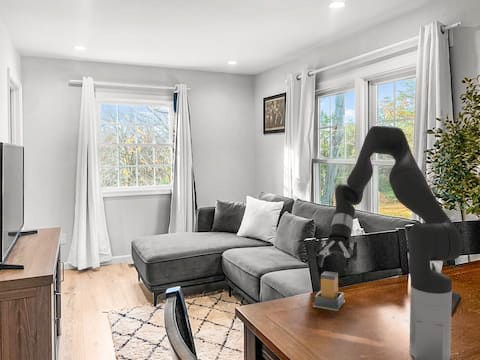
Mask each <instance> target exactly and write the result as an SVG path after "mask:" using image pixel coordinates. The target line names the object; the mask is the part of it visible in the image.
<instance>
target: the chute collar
mask: <svg viewBox="0 0 480 360" xmlns="http://www.w3.org/2000/svg"><path fill="white" fill-rule="evenodd" d="M344 300H345V292H342V291H341V292H340V291H338V298H337V299H332V298H325V297H321V289H320V290H319V291H318V292H317V294H316V295H315V296H314V305H315V306H321V307H327V308H332V309H339V310H340V308H341V307H342V306H343V304H344V303H345V302H344ZM343 302H344V303H343ZM342 303H343V304H342ZM341 305H342V306H341ZM340 306H341V307H340ZM339 307H340V308H339Z"/></svg>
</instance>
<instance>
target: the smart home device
mask: <svg viewBox="0 0 480 360" xmlns="http://www.w3.org/2000/svg"><path fill="white" fill-rule="evenodd" d="M460 301H461V293H457V292H452V302H451V316H453V313H454V311H455V309H456V307H457V305H458V304H459V302H460Z"/></svg>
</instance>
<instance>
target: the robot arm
mask: <svg viewBox="0 0 480 360" xmlns="http://www.w3.org/2000/svg"><path fill="white" fill-rule="evenodd" d="M374 154H378V155H388V156H391V157H392V158H393V159H394V161H395V162H394V164H393V166H392V168H391V170H390V172H389V176H388V181H389V182H388V183H389V185H390V188H391V190H392V192H393V194H394V197H395V198H396V200H397V201H398V203H400V204H401V205H402V206H404V207H405V208H406V209H407V210H409V211H411V212H412V213H413V214H415V215H417V216H418V217H419V218H420V219H422V221H424V222H422V223H421V222H420V223H413V224H412V225H411V227H410V229H409V230H408V231H409V232H408V240H407V241H408V258H409V259H408V261H409V262H408V263H409V265H408V269H409V277H410V300H409V301H410V303H409V305H410V306H409V307H410V308H409V311H410V312H409V353H410V355H411V356H412V357H413V358H414V360H451V347H452V345H451V341H452V338H451V337H452V335H451V334H452V315H451V302H452V293H453V292H452V291H453V281H452V279H451V277H449V276H448V275H447V274H444V273H442V272H441V273H439V272H436V271H433V270H431V267H430V261H444V262H447V261H453V260H457V259H459V257H460V256H461V255H462V251H463V243H462V239H461V236H460V233H459V231H458V230H457V228H456V226H455V224H454V223H453V222H452V219H450V217H449V216H448V214H447V213H446V211H445V210H444V208H443V207H442V206H441V205H440V203H439V201H438V199H437V198H436V196H435V194H434V193H433V191H432V190H431V186H430V185H429V184H428V181H427V179H426V177H425V175H424V173H423V172H422V170H421V169H420V167H419V164H418V163H417V161H416V159H415V157H414V154H413V153H412V150H411V147H410V145H409V143H408V139H407V136H406V135H405V132H404V131H403V129H402V128H400V127H398V126H392V125H384V124H374V125H372V126H371V127H370V128H369V130H368V131H367V133H366V136H365V138H364V140H363V144H362V146H361V148H360V151H359V154H358V157H357V161H356V163H355V165H354V167H353V169H352V170H351V172H350V174H349V175H348V177H347V179H346V182H340V183H338V185H337V186H336V188H335V190H334V199H335V211H334V215H333V219H332V221H331V225H330V230H329V234H328V238H327V240H323V239H322V238H318V241H317V243H316V246H315V249H314V252H315V255H316V257H318V260H317V265H318V266H319V268H323V266H324V262H325V261H324V260H325V258H326V257H327V256H329V255H331V254H332V255H333V254H334V255H335V254H336V255H337V254H338V255H342V254H343V256H344V257H345V260H344V265H343V270H344V271H348V270H349V269H350V266H351V262H352V261H355V262H356V261H357V260H358V255H359V253H358V251H359V244H358V242H356V241H354V242H351V237H352V232H353V230H354V227H353V226H354V218H355V213H356V209H355V206H358V205H360V203H361V202H362V201H363V198H364V191H365V188H366V186H367V185H368V184H369V182H370V181H371V179H372V177H373V173H374V168H373V164H372V161H371V157H372V156H373V155H374ZM325 245H326V246H325ZM350 248H351V249H352V254H350V253H349V251H348V250H349V249H350Z"/></svg>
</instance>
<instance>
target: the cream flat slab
mask: <svg viewBox="0 0 480 360" xmlns="http://www.w3.org/2000/svg"><path fill="white" fill-rule="evenodd" d="M345 302H346V300H345V299H344V302H343V303H342V305H341V306H340V307H339V309H332V308H327V307H321V306H315V304H313V306H312V307H314V308H317V309H318V308H319V309H325V310H331V311H337V312H338V311H339V310H340V308H341V307H342V306H343V304H345Z"/></svg>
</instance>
